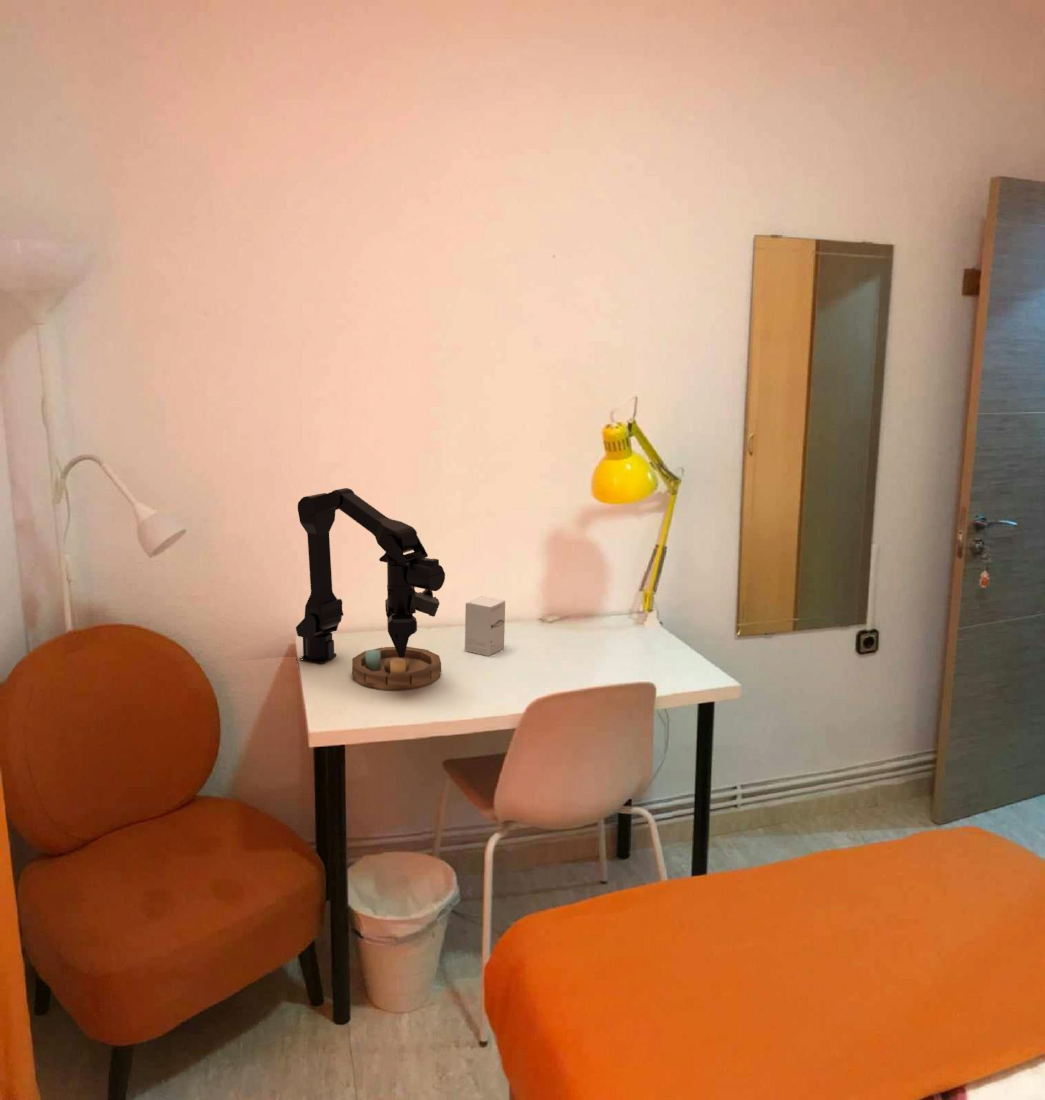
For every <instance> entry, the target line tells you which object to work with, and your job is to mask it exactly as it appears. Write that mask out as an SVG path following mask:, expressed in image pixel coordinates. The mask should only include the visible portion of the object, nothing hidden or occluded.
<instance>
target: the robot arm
mask: <svg viewBox="0 0 1045 1100" xmlns="http://www.w3.org/2000/svg"><path fill="white" fill-rule="evenodd" d="M337 510H340V512H342V513H344V514H345V515H347V516H348V517H349V518H351V519H352V520H353V521H355V522H356V523H357V524H359V525H360V526H361V527H362V528H364V529H365V530H367V531H368V532H370V533H371V534H372V535H373V536H374V537H375V541H376V543H377V544H378V546H379V547H380V548H381V549H382V550H383V551H384V554H383V555H382V556H381V557H379V560H378V561H379V562H381V563H386V568H387V570H386V571H387V572H386V573H387V574H386V575H387V576H386V578H387V579H386V580H387V581H386V582H387V584H386V591H387V592H386V593H387V598H386V599H385V601H384V602H385V615H386V619H387V623H386V624H387V634H388V635H389V638H390V639H391V642H392V644H393V647H395V649H396V651H397V653H398V656H399V658H404V656H405V652H406V648H407V647H408V643H409V638H410V637H411V636H412V635H414V634H415V633H416V632H417V631H418V621H417V618H416V616H414V615H413V614H416V612H420V613H424V614H427V615H428V616H430V617H433V618H434V617H435V616H436V614H437V613H438V609H439V607H440V601H439V598H437V597H436V596H434V593H433V592H437V591H439V590H440V589H441V588H442V587H443V586H444V583H445V580H446V572H445V571H444V568H443V566H442V565H440V560H439V559H438V558H428V556H429V555H428V552H427V551H426V549H425V547H424V545H423V543H422V541H421V540H420V538H419V535H418V532H417V530H416V529H415V528H414V527H413V526H411V525H409V524H407V523H406V522H403V521H400V520H396V519H392V518H389V517H387V516H386V515H385V514H383V513H382V512H380V511H379V510H378V509H376V508H375V507H374V506H372V505H371V504H369V503H368V502H367V501H365V499H363V498H361V497H360V496H358V495H357V494H356V493H355V492H354V490H353V489H351V488H348V487H344V488H339V489H334V490H332V491H330V492H328V493H326V492H322V493H317V494H313V495H308V496H307V495H306V496H303V497H301V498H300V500H298V502H297V513H298V518H299V519H298V520H299V523H300V525H301V527H302V528H303V530H304V531H305V532H306V534H307V550H308V552H307V553H308V567H309V580H310V581H309V583H310V595H309V597H308V600H307V602H306V604H305V606H304V618H303V619H302V620H301V621H300V622H299V623H298V624H297V625H296V627H295V629H296V630H295V631H296V634H297V636H298V637H301V638H302V656H301V657H302V658H300V657H299V660H300V659H303V660H305V661H304V662H310V663H317V664H325V663H326V662H328V661H330V660H332V659H333V658H335V657H336V656H337V653H335V640H334V639H333V632H337V631H338V627H339V625H340V623H341V622H342V617H343V616H344V612H343V600H342V599H341V598H337V597H336V595H335V594H334V592H333V577H332V576H333V575H332V563H331V562H332V561H331V559H332V558H331V545H330V544H331V543H330V542H331V541H330V531H331V529H332V527H333V525H334V522H335V520H336V511H337ZM411 551H412V552H411ZM415 588H418V589H423V591H419V592H417V591H416V590H415ZM303 660H302V661H303Z"/></svg>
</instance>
